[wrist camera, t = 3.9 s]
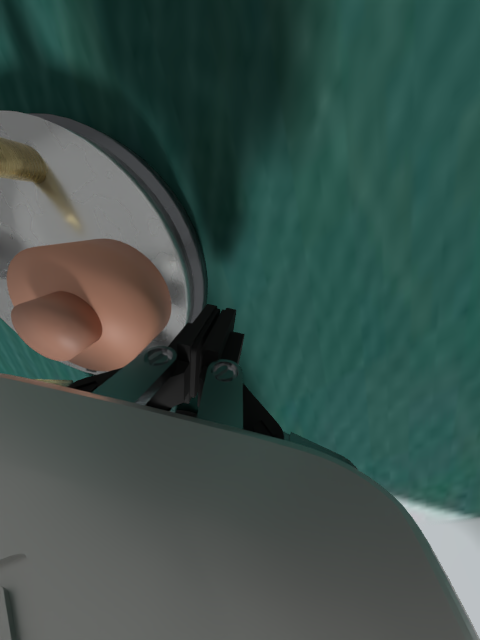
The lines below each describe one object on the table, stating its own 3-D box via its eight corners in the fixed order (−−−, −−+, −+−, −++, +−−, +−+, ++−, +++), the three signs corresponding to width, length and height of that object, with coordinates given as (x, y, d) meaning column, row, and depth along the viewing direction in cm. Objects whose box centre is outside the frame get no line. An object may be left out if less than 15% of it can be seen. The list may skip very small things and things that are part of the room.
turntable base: (218, 145, 11) (211, 137, 10) (201, 376, 20) (197, 385, 19) (-62, 103, 12) (-93, 93, 11) (39, 339, 21) (27, 345, 20)
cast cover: (170, 250, 11) (101, 272, 7) (172, 347, 14) (128, 404, 10) (58, 228, 12) (-74, 236, 7) (85, 328, 15) (7, 373, 11)
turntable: (200, 147, 10) (129, 81, 5) (191, 383, 18) (161, 443, 13) (-89, 103, 11) (-367, 17, 6) (26, 344, 19) (-56, 386, 14)
